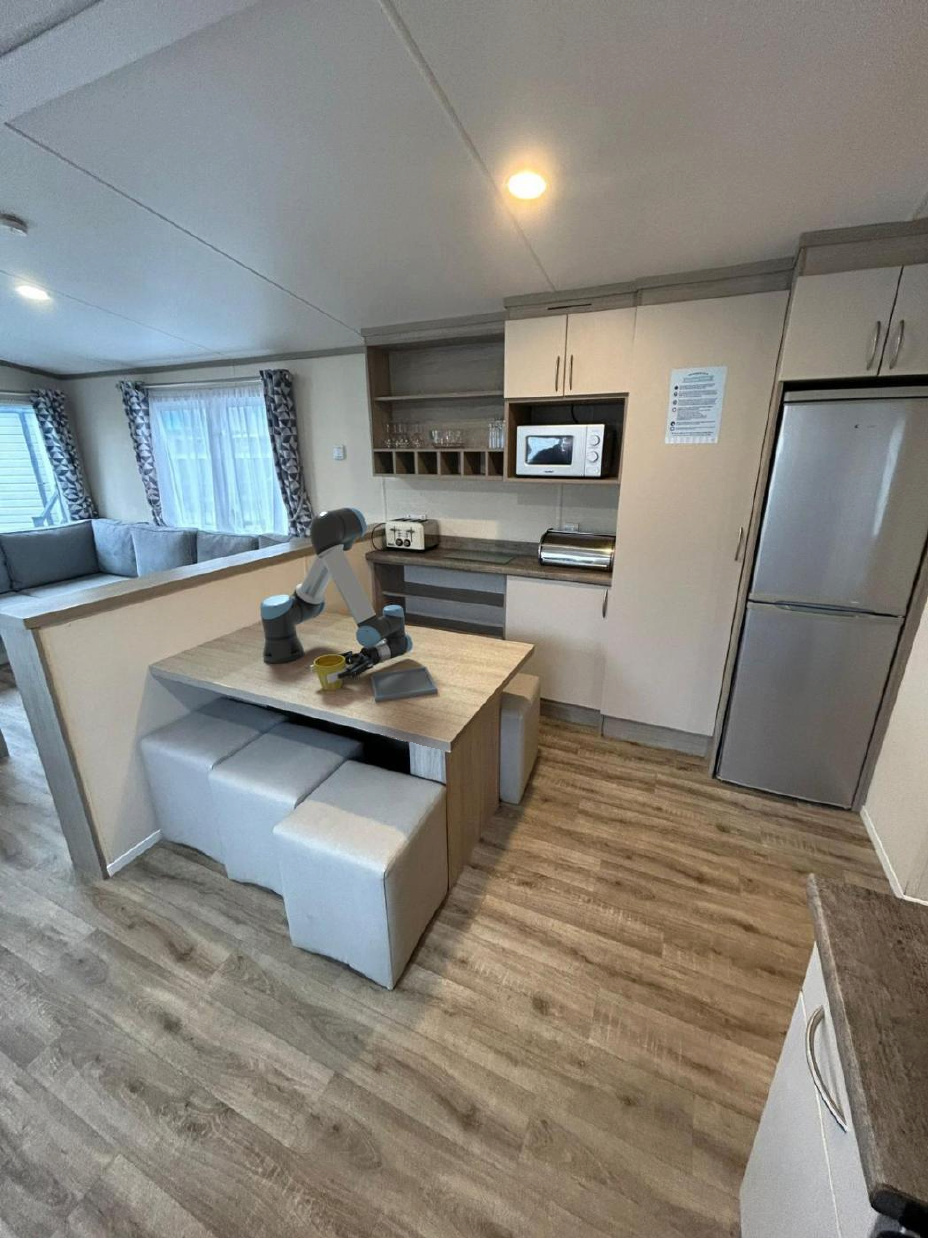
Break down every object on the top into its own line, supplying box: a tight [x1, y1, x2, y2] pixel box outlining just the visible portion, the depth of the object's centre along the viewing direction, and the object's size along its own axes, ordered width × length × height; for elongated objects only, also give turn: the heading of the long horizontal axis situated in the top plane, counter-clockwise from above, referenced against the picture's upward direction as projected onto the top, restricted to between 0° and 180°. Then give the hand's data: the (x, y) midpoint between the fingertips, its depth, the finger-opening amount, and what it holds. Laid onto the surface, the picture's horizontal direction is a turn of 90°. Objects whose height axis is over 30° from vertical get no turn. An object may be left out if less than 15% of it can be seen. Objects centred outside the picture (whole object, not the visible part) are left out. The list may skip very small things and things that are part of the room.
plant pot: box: [313, 653, 347, 692], centre depth 163 cm, size 10×10×10 cm
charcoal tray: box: [369, 666, 438, 704], centre depth 164 cm, size 20×18×2 cm
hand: (319, 674), depth 160 cm, fingers closed on plant pot, 10 cm apart
